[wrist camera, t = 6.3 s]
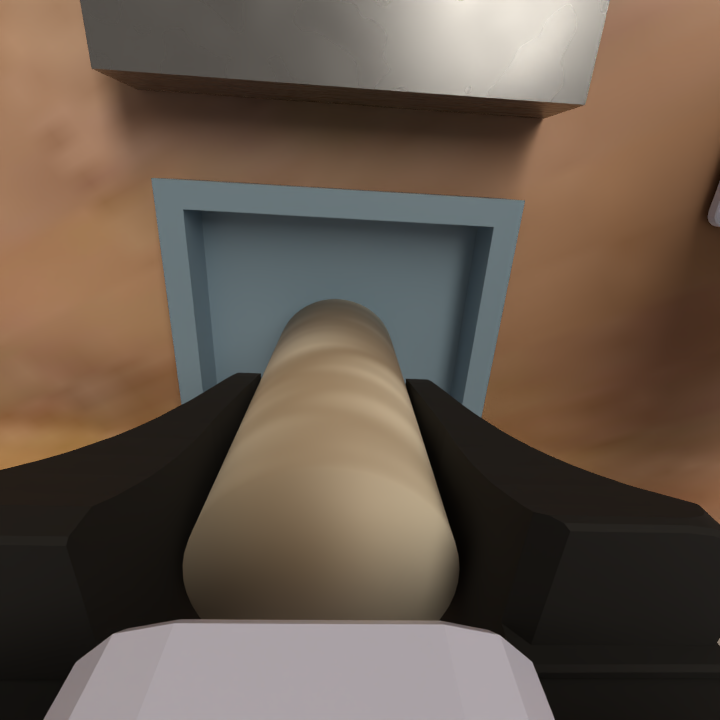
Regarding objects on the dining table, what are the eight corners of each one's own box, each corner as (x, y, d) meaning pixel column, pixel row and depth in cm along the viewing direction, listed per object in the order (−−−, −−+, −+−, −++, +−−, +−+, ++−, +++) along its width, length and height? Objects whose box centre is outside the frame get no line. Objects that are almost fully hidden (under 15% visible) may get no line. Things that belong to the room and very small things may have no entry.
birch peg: (397, 301, 14) (480, 471, 5) (387, 407, 15) (440, 668, 7) (277, 296, 13) (166, 464, 5) (279, 403, 15) (196, 668, 7)
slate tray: (499, 198, 14) (524, 200, 12) (453, 456, 19) (466, 489, 17) (179, 178, 14) (151, 178, 12) (209, 449, 18) (192, 483, 16)
